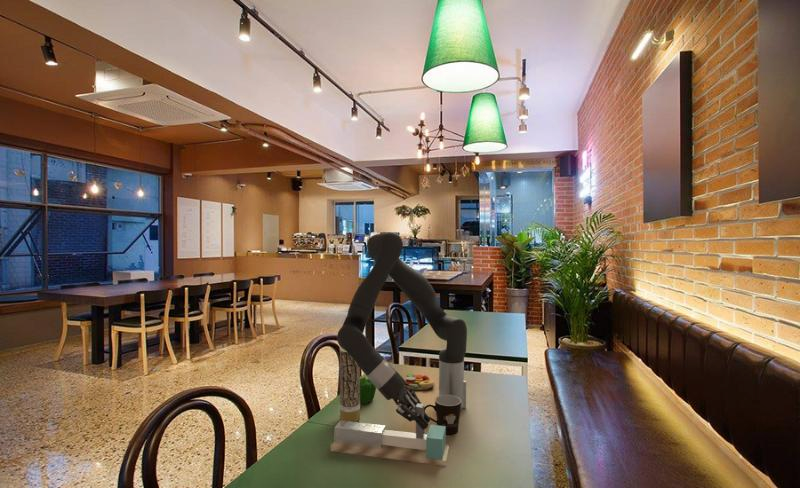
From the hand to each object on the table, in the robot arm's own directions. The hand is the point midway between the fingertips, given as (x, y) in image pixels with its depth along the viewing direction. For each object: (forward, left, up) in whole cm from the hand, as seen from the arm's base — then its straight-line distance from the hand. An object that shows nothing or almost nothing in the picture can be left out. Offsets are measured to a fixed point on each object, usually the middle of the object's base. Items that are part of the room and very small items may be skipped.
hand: (427, 424), depth 113 cm
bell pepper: (+10, -43, -9) cm, 45 cm away
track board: (+10, -6, -9) cm, 14 cm away
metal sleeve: (+18, -10, -7) cm, 22 cm away
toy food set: (-15, -52, -9) cm, 55 cm away
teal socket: (-2, +1, -7) cm, 8 cm away
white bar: (+6, -3, -7) cm, 9 cm away
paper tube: (+18, -29, -9) cm, 35 cm away
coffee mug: (-10, -13, -9) cm, 19 cm away
